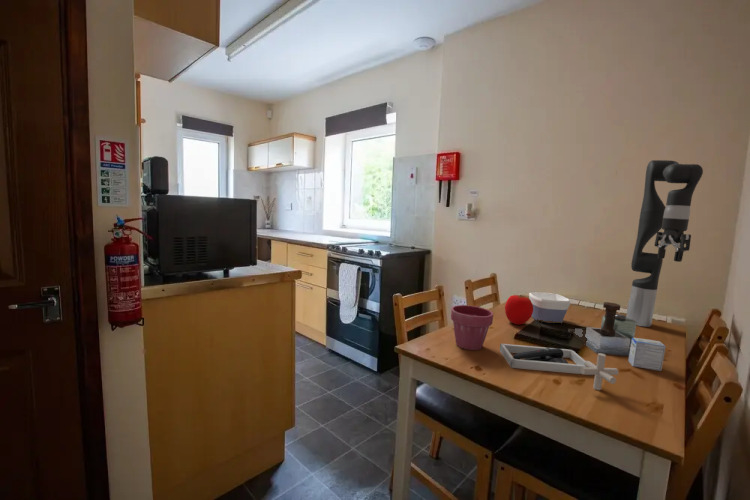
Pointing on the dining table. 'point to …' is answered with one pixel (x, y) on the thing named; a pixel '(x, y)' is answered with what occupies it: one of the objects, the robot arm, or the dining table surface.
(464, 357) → the dining table surface
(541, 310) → the bowl
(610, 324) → the bolt
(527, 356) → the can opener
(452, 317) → the plant pot
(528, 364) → the gray parallelogram frame
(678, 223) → the robot arm
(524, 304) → the tomato
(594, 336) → the motor mount
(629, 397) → the dining table surface
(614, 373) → the pipe connector
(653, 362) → the medicine box
